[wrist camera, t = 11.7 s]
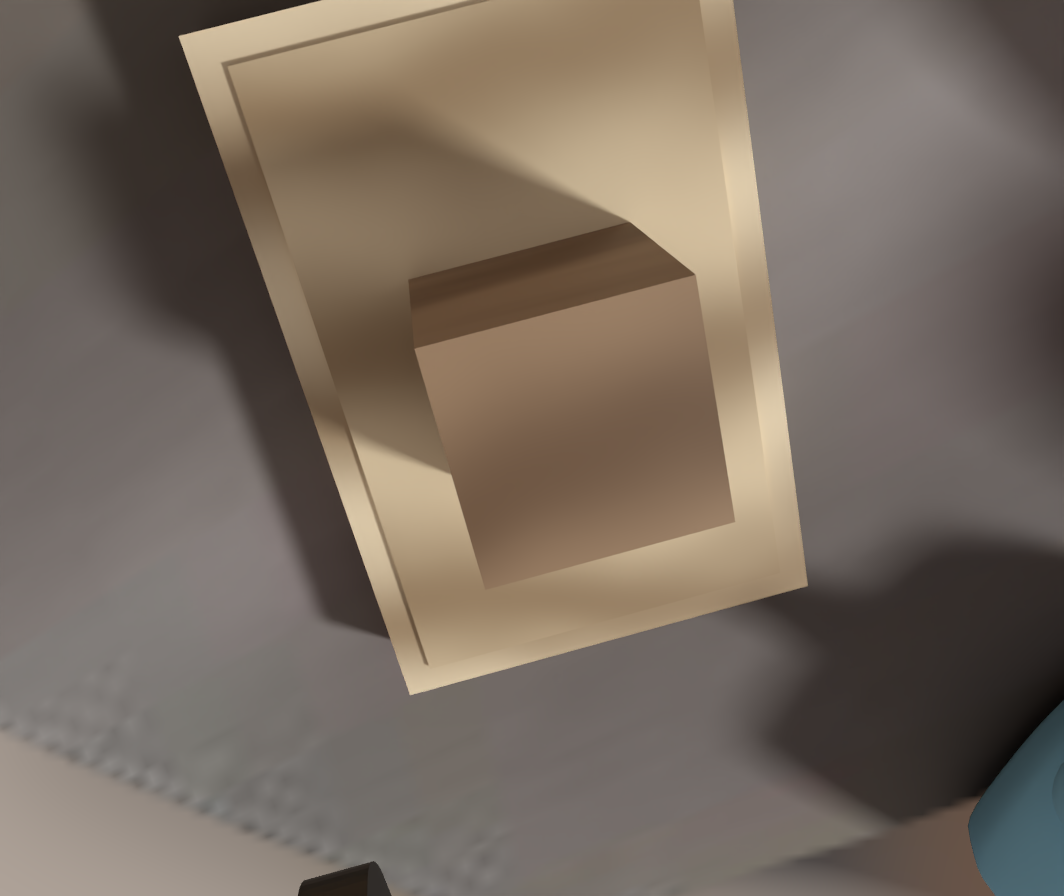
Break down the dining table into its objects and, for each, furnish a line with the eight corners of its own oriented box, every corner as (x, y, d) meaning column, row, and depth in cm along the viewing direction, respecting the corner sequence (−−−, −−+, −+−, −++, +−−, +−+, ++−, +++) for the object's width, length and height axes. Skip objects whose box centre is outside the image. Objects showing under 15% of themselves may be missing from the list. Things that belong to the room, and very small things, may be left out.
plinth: (199, 34, 23) (177, 36, 21) (687, -88, 23) (722, -100, 21) (408, 645, 31) (410, 698, 28) (776, 544, 31) (809, 588, 29)
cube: (408, 279, 23) (414, 348, 18) (630, 221, 24) (695, 274, 19) (465, 480, 26) (485, 589, 21) (667, 426, 26) (735, 522, 21)
